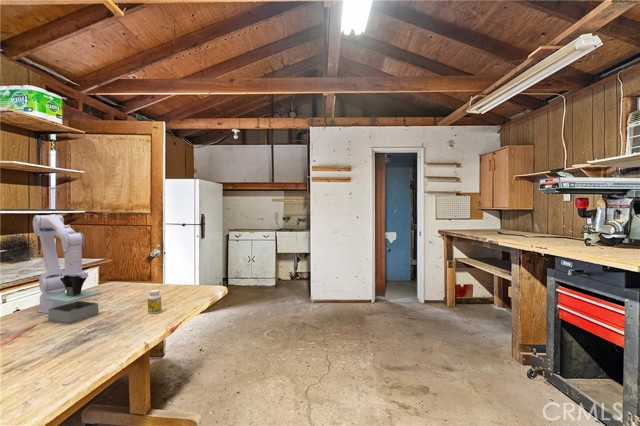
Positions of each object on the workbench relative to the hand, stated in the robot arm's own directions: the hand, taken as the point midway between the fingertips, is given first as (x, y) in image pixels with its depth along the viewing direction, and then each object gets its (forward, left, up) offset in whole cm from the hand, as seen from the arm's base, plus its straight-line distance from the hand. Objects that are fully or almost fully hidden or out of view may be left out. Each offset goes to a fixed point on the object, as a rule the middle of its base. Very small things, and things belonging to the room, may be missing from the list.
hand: (73, 293), depth 132 cm
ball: (0, 0, -8) cm, 8 cm away
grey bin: (0, 0, -10) cm, 10 cm away
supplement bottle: (+27, +16, -11) cm, 33 cm away
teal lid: (0, 0, -2) cm, 2 cm away
